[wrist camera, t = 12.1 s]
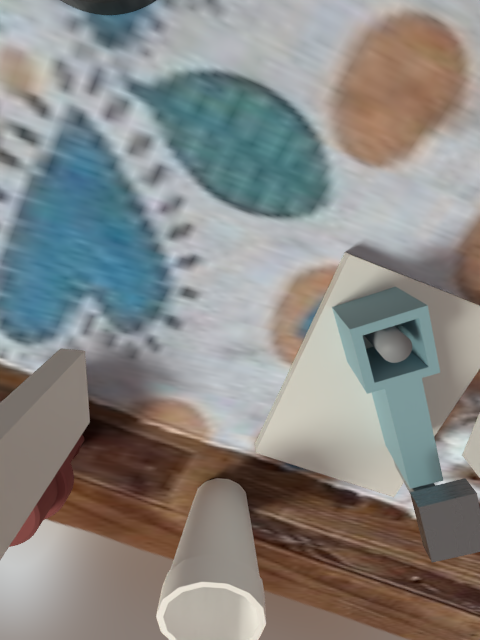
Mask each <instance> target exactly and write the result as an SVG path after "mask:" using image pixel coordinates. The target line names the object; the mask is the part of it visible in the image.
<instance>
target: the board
mask: <svg viewBox="0 0 480 640" xmlns="http://www.w3.org/2000/svg"><path fill="white" fill-rule="evenodd" d="M393 287H397V288H399V289H401V290H402V291H404V292H406V293H408V294H409V295H411V296H413V297H414V298H416V299H418V300H419V301H421V302H423V303H425V304H426V305H428V310H429V315H430V320H431V326H432V331H433V336H434V342H435V347H436V352H437V357H438V363H439V368H440V373H437V374H434V375H430V376H427V377H424V378H422V382H423V386H424V391H425V396H426V401H427V405H428V410H429V415H430V420H431V425H432V429H433V434H434V436H435V435H436V433H437V432H438V430H439V429H440V427H441V426H442V424H443V423H444V421H445V420H446V418H447V417H448V415H449V414H450V412H451V411H452V409H453V408H454V406H455V405H456V403H457V402H458V400H459V399H460V397H461V396H462V394H463V393H464V391H465V390H466V388H467V387H468V385H469V384H470V382H471V381H472V380H473V378H474V377H475V375H476V374H477V372H478V371H479V369H480V305H478V304H475V303H473V302H470V301H468V300H465V299H463V298H460V297H457V296H455V295H452V294H450V293H447V292H445V291H442V290H440V289H437V288H435V287H432V286H429V285H427V284H424V283H422V282H419V281H417V280H414V279H412V278H409V277H407V276H404V275H402V274H399V273H396V272H394V271H391V270H389V269H386V268H384V267H381V266H379V265H376V264H374V263H371V262H369V261H366V260H363V259H361V258H358V257H356V256H353V255H351V254H348V253H346V252H345V253H344V255H343V257H342V260H341V262H340V264H339V266H338V268H337V270H336V272H335V274H334V277H333V279H332V281H331V283H330V285H329V287H328V289H327V291H326V294H325V296H324V298H323V300H322V302H321V304H320V306H319V308H318V311H317V313H316V315H315V317H314V319H313V321H312V323H311V325H310V328H309V330H308V332H307V334H306V336H305V338H304V340H303V342H302V345H301V347H300V349H299V351H298V353H297V355H296V357H295V359H294V362H293V364H292V366H291V368H290V370H289V372H288V374H287V376H286V379H285V381H284V383H283V385H282V387H281V389H280V391H279V393H278V396H277V398H276V400H275V402H274V404H273V406H272V408H271V410H270V413H269V415H268V417H267V419H266V421H265V423H264V425H263V427H262V430H261V432H260V434H259V436H258V438H257V440H256V442H255V453H258V454H261V455H264V456H267V457H270V458H273V459H276V460H280V461H283V462H286V463H289V464H292V465H295V466H298V467H301V468H304V469H308V470H311V471H314V472H317V473H320V474H323V475H326V476H329V477H333V478H336V479H339V480H342V481H345V482H348V483H351V484H354V485H358V486H361V487H364V488H367V489H370V490H373V491H376V492H379V493H382V494H386V495H389V496H392V497H394V496H395V495H396V493H397V492H398V490H399V489H400V487H401V486H402V484H403V483H404V481H403V480H402V478H401V476H400V474H399V472H398V471H397V469H396V467H395V464H394V460H393V458H392V456H391V454H390V452H389V451H388V449H387V447H386V445H385V442H384V438H383V434H382V430H381V426H380V423H379V419H378V415H377V411H376V407H375V404H374V400H373V396H372V393H368V394H367V393H366V391H365V390H364V388H363V386H362V385H361V383H360V382H359V380H358V378H357V377H356V375H355V374H354V372H353V370H352V369H351V367H350V366H349V364H348V362H347V359H346V356H345V352H344V348H343V345H342V341H341V338H340V334H339V331H338V327H337V323H336V320H335V316H334V313H333V309H332V307H334V306H337V305H340V304H343V303H346V302H349V301H353V300H356V299H359V298H362V297H365V296H368V295H371V294H374V293H377V292H380V291H384V290H387V289H390V288H393ZM363 340H364V344H365V348H366V349H367V348H370V347H374V348H375V349H376V350H377V351H378V352H379V353H380V355H381V356H382V357H383V358H384V359H385V360H386V361H388V362H392V363H397V362H401V361H403V360H405V359H406V358H407V357H408V356H409V355H410V353H411V351H412V342H411V340H410V339H409V338H408V337H407V336H406V335H404V334H403V333H402V332H401V331H400V330H399V329H397V328H396V327H395V326H392V327H388V328H385V329H382V330H379V331H375V332H372V333H369V334H366V335H363Z"/></svg>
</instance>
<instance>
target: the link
mask: <svg viewBox="0 0 480 640" xmlns="http://www.w3.org/2000/svg"><path fill="white" fill-rule="evenodd" d="M332 309H333V313H334V316H335V320H336V323H337V327H338V331H339V334H340V338H341V341H342V345H343V348H344V352H345V356H346V359H347V362H348V364H349V366H350V367H351V369H352V370H353V372H354V374H355V375H356V377H357V378H358V380H359V382H360V383H361V385H362V386H363V388H364V390H365V391H366V393H367V394H368V393H372V396H373V400H374V404H375V407H376V411H377V415H378V419H379V423H380V426H381V430H382V434H383V438H384V442H385V445H386V447H387V449H388V451H389V452H390V454H391V456H392V458H393V460H394V461H395V463H396V465H397V467H398V468H399V470H400V472H401V474H402V475H403V477H404V479H405V481H406V482H407V484H408V486H409V488H410V489H411V488H415V487H419V486H423V485H427V484H431V483H435V482H439V481H443V477H442V472H441V467H440V463H439V458H438V453H437V448H436V444H435V439H434V434H433V429H432V425H431V420H430V415H429V410H428V405H427V401H426V396H425V391H424V386H423V382H422V378H424V377H427V376H430V375H434V374H437V373H440V368H439V363H438V357H437V352H436V347H435V342H434V336H433V331H432V326H431V320H430V315H429V310H428V305H426V304H425V303H423V302H421V301H419V300H418V299H416V298H414V297H413V296H411V295H409V294H408V293H406V292H404V291H402V290H401V289H399V288H397V287H393V288H390V289H387V290H384V291H380V292H377V293H374V294H371V295H368V296H365V297H362V298H359V299H356V300H353V301H349V302H346V303H343V304H340V305H337V306H334V307H332ZM392 326H395V327H396V328H397V329H399V330H400V331H401V332H402V333H403V334H404V335H406V336H407V337H408V338H409V339H410V340H411V342H412V351H411V353H410V355H409V356H408V357H407V358H406V359H405V360H403V361H401V362H397V363H392V362H388V361H386V360H385V359H384V358H383V357H382V356H381V355H380V353H379V352H378V351H377V350H376V349H375V348H374V347H370V348H367V349H366V348H365V344H364V340H363V335H366V334H369V333H372V332H375V331H379V330H382V329H385V328H388V327H392Z"/></svg>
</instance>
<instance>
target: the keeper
mask: <svg viewBox="0 0 480 640" xmlns="http://www.w3.org/2000/svg"><path fill="white" fill-rule="evenodd" d="M394 464H395V467H396V469H397V471H398V472H399V474H400V476H401V478H402V480H403V481H404V483H405V485H406V487H407V488H408V490H409V492H410V494H411V498H412V502H413V506H414V510H415V514H416V518H417V522H418V526H419V530H420V534H421V538H422V542H423V546H424V548H425V550H426V552H427V554H428V556H429V558H430V560H431V561H432V562H436V561H441V560H445V559H449V558H454V557H458V556H463V555H467V554H472V553H476V552H480V509H479V503H478V497H477V493H476V492H475V490H474V489H473V488H472V486H471V485H470V484H469V483H468V481H467V480H466V479H461V480H457V481H453V482H449V483H445V484H441V485H437V486H435V485H434V483H431V484H427V485H423V486H419V487H415V488H411V489H410V488H409V486H408V484H407V482H406V481H405V479H404V477H403V475H402V474H401V472H400V470H399V468H398V467H397V465H396V463H395V461H394Z"/></svg>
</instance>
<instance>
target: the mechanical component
mask: <svg viewBox="0 0 480 640" xmlns="http://www.w3.org/2000/svg"><path fill="white" fill-rule="evenodd" d="M83 442H84V436H83V435H81V437H80V438H79V440H78V441H77V443H76V444H75V446H74V447H73V449H72V450H71V452H70V453H69V455H68V457H67V458H66V460H65V461H64V463H63V464H62V466H61V467H60V469H59V470H58V472H57V473H56V475H55V477H54V478H53V480H52V481H51V483H50V484H49V486H48V487H47V489H46V490H45V492H44V493H43V495H42V497H41V498H40V500H39V501H38V503H37V504H36V506H35V507H34V509H33V510H32V512H31V513H30V515H29V517H28V518H27V520H26V521H25V523H24V524H23V526H22V527H21V529H20V530H19V532H18V533H17V535H16V537H15V538H14V540H13V541H12V543H11V544H10V546H15V545H18V544H21V543H23V542H25V541H27V540H28V539H30V538H31V537H32V536H33V535H34V533H35V532H36V531H37V529H38V527H39V526H40V524H41V523H42V521H43V520H44V519H47V518H49V517H51V516H52V515H54V514H55V513H56V512H58V511H59V510H60V509H61V507H62V506H63V505H64V503H65V501H66V500H67V498H68V496H69V495H70V493H71V490H72V488H73V484H74V475H73V469H72V466H71V464H70V463H71V461H72V459H73V458H74V457H75V456H76V455H77V454H78V452H79V450H80V448H81V445H82V443H83ZM10 546H9V547H10Z"/></svg>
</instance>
